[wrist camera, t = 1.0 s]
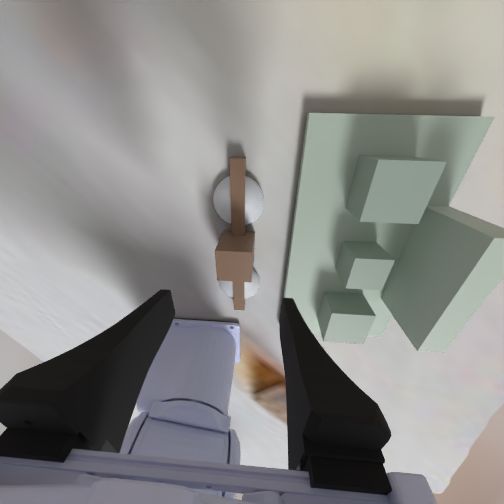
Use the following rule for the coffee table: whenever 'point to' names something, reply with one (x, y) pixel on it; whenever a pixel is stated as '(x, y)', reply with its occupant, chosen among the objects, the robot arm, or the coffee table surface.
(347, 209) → the mint green baseplate
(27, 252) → the coffee table surface
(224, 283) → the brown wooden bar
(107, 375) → the robot arm
